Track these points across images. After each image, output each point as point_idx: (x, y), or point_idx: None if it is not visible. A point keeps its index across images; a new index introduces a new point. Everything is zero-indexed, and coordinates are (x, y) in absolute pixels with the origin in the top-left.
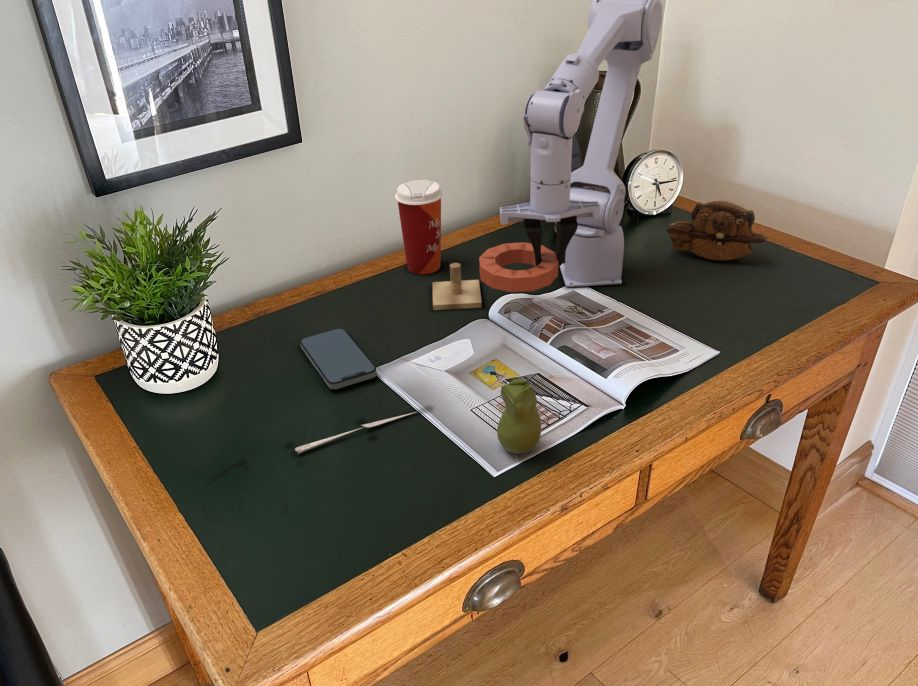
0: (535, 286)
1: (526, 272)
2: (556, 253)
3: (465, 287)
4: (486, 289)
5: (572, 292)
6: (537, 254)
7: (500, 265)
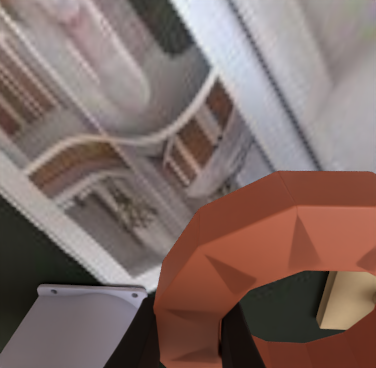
0: (269, 182)
1: (317, 248)
2: (155, 353)
3: (358, 308)
4: (305, 302)
5: (135, 272)
6: (248, 352)
7: (344, 336)
